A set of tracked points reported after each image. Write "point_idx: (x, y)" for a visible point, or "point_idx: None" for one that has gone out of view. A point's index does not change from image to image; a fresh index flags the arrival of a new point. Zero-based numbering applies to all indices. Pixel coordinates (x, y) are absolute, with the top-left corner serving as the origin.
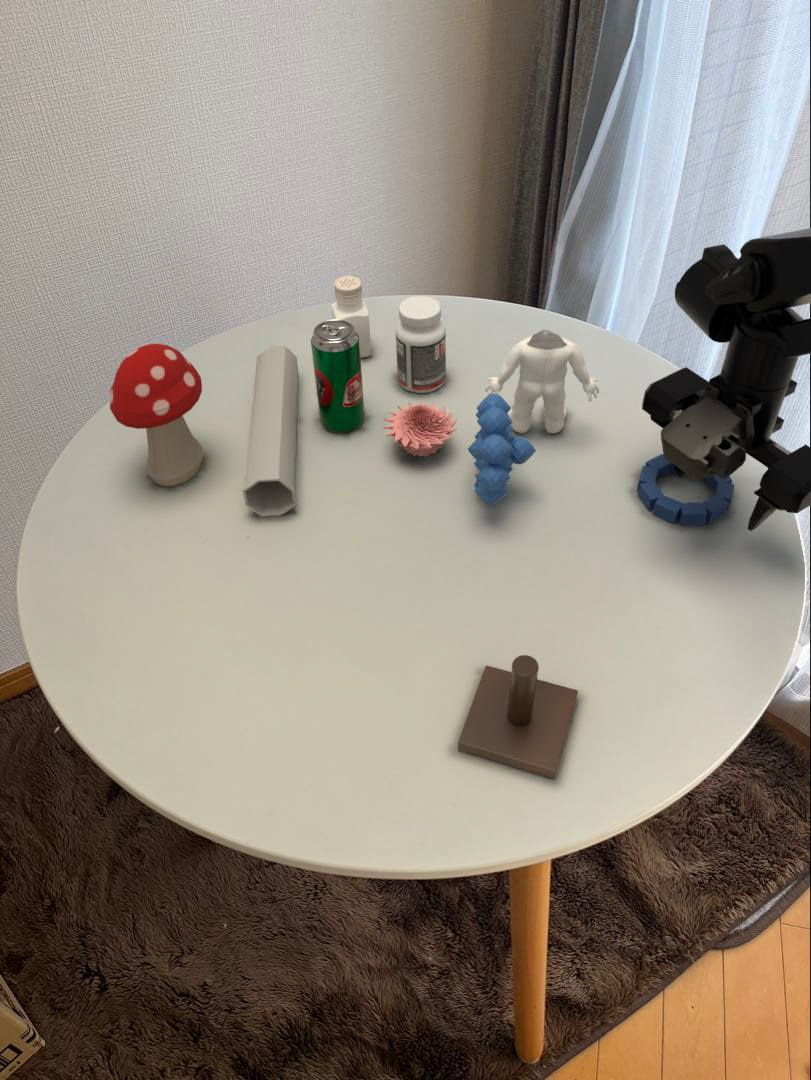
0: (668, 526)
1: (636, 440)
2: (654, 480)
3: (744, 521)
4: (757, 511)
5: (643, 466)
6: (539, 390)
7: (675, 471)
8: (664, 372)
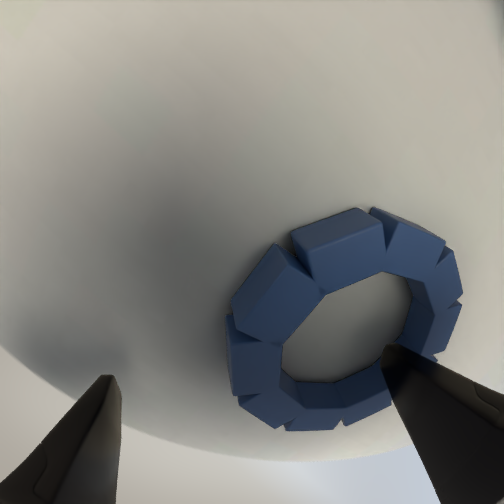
0: (292, 210)
1: (474, 327)
2: (427, 284)
3: (184, 382)
4: (60, 449)
5: (462, 291)
6: None
7: None
8: None
